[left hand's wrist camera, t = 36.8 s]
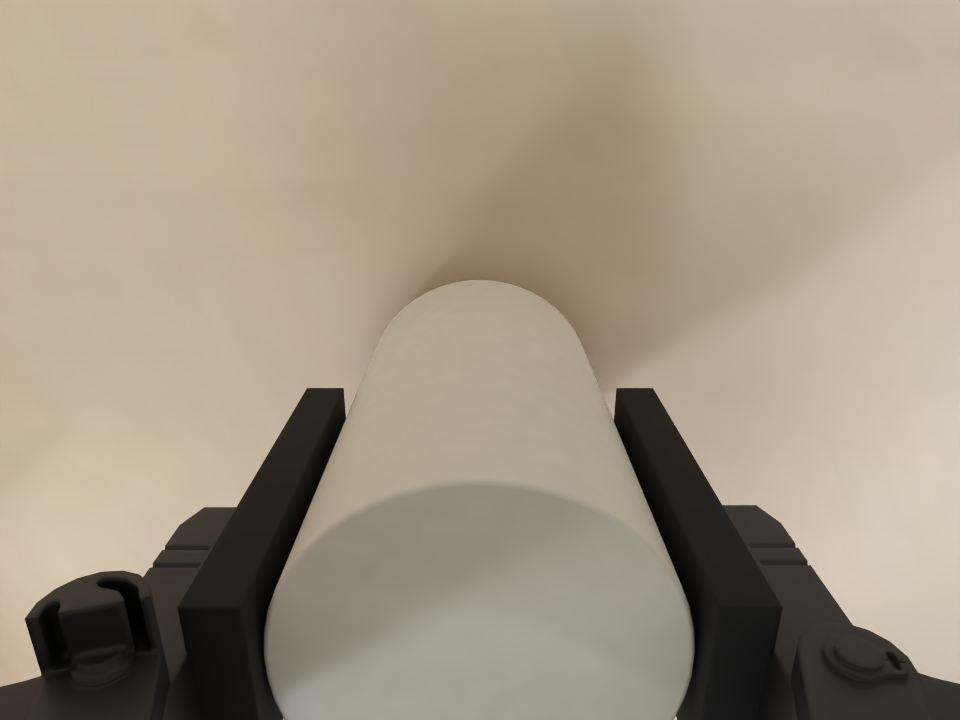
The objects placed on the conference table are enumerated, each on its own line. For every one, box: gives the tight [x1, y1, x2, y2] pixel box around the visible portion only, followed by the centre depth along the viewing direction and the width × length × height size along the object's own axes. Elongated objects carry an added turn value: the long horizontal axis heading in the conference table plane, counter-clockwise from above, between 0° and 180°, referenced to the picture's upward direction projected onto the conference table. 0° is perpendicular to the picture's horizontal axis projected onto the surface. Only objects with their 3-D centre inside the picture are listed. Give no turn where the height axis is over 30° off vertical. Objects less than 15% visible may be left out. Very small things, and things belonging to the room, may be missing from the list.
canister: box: [264, 280, 695, 720], centre depth 13 cm, size 6×6×9 cm
